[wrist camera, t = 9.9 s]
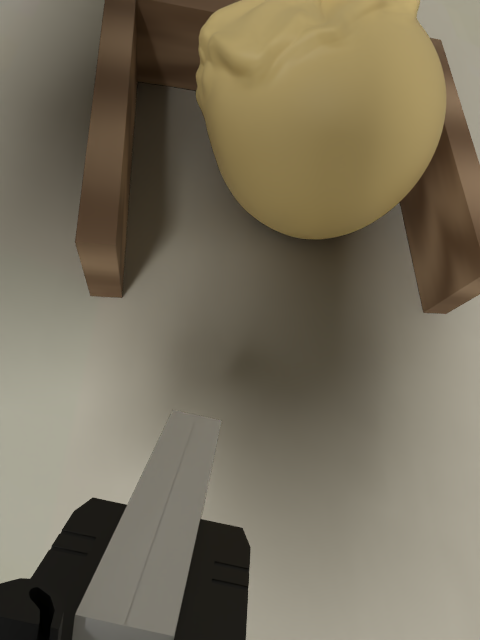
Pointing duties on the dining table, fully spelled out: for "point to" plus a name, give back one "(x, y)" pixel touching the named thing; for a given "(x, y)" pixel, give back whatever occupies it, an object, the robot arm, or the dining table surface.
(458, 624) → the dining table surface
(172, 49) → the bay
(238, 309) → the dining table surface
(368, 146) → the sculpture
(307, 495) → the dining table surface
